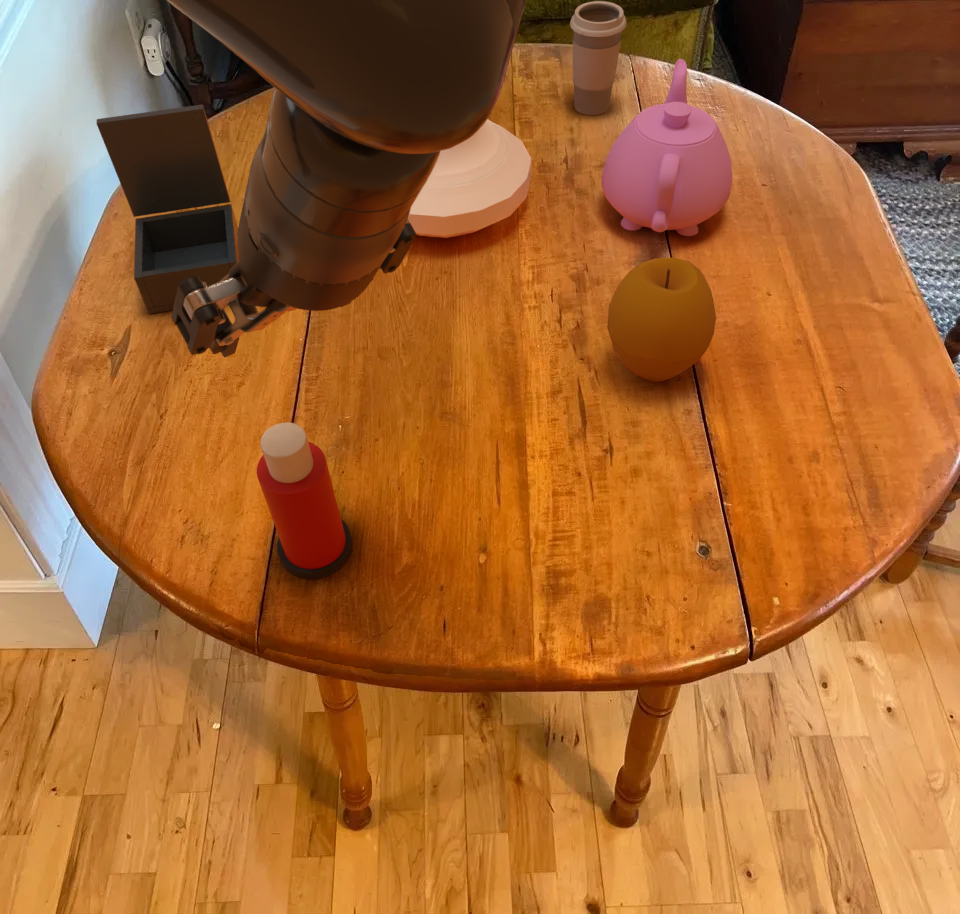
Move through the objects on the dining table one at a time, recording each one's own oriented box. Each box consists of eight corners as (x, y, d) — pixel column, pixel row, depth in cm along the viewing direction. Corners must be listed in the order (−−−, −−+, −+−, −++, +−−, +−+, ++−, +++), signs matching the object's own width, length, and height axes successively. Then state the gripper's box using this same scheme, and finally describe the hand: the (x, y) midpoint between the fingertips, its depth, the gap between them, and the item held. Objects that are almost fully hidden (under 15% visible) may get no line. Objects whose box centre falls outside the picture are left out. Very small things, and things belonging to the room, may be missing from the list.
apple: (630, 318, 88) (645, 220, 79) (720, 353, 85) (746, 255, 76) (584, 377, 83) (593, 280, 74) (677, 417, 80) (699, 320, 70)
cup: (597, 125, 111) (605, 30, 102) (554, 109, 114) (559, 15, 104) (628, 102, 114) (638, 8, 105) (585, 87, 117) (592, -6, 108)
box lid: (203, 108, 85) (202, 104, 85) (96, 123, 83) (96, 118, 84) (230, 202, 93) (230, 197, 94) (133, 217, 92) (133, 212, 92)
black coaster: (282, 586, 69) (280, 580, 68) (276, 526, 73) (273, 519, 72) (357, 570, 70) (355, 564, 69) (347, 511, 74) (345, 504, 73)
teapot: (609, 152, 107) (619, 51, 97) (726, 163, 105) (749, 61, 95) (589, 253, 95) (599, 149, 85) (722, 267, 93) (747, 162, 83)
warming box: (247, 298, 91) (236, 261, 88) (149, 314, 90) (133, 277, 86) (241, 240, 98) (231, 203, 94) (149, 255, 96) (135, 218, 93)
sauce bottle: (271, 551, 70) (231, 449, 60) (310, 508, 73) (278, 402, 63) (319, 579, 68) (287, 478, 58) (358, 533, 71) (333, 429, 61)
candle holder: (355, 261, 95) (327, 92, 80) (361, 159, 107) (338, -4, 92) (538, 252, 95) (545, 82, 80) (523, 151, 108) (526, -13, 93)
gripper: (409, 100, 45) (346, 230, 60) (148, 188, 40) (150, 307, 55) (478, 226, 45) (398, 325, 60) (227, 332, 40) (207, 412, 55)
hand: (280, 317), depth 58 cm, fingers open, 8 cm apart
